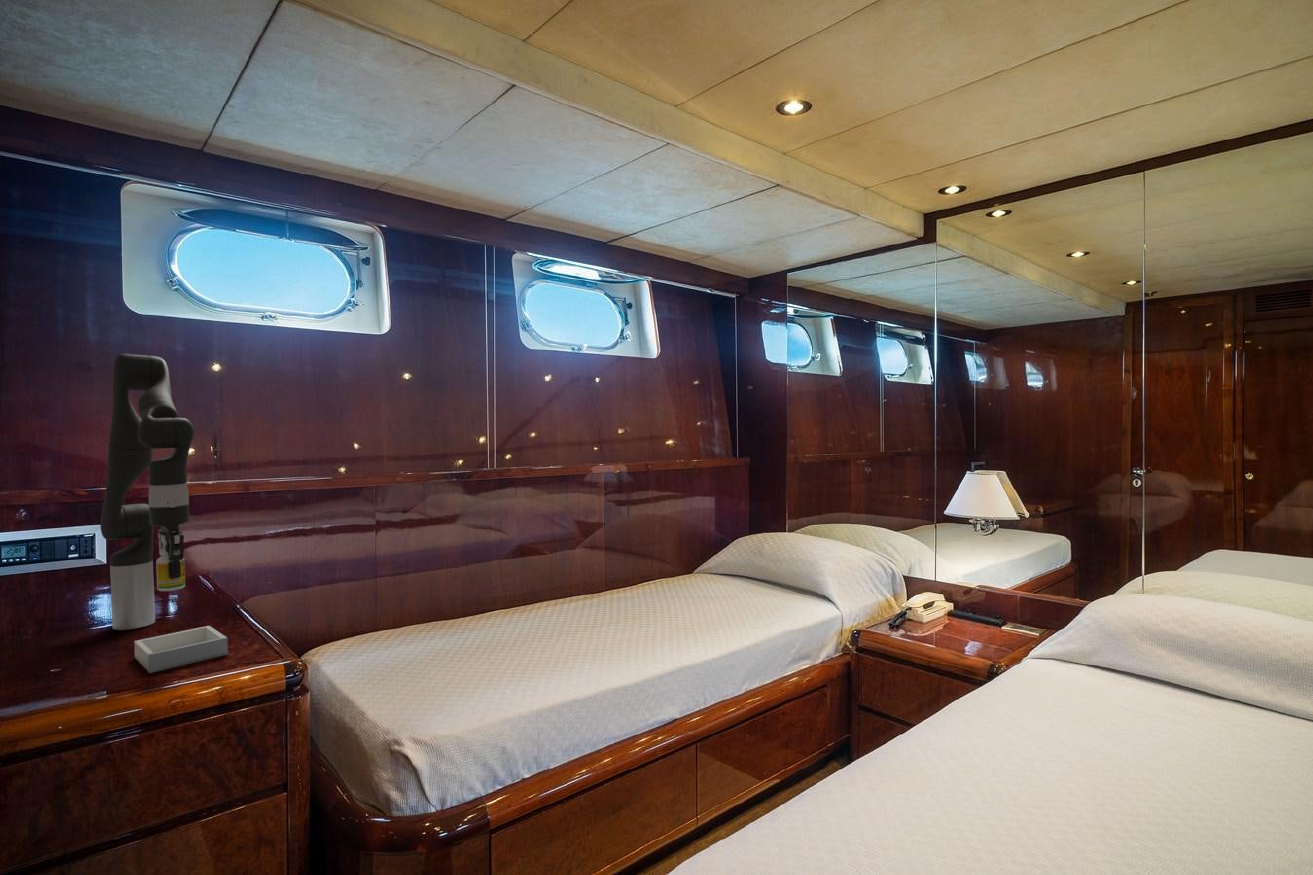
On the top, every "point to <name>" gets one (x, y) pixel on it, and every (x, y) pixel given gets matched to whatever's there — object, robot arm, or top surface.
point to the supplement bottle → (163, 574)
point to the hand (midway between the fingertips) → (172, 575)
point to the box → (180, 648)
